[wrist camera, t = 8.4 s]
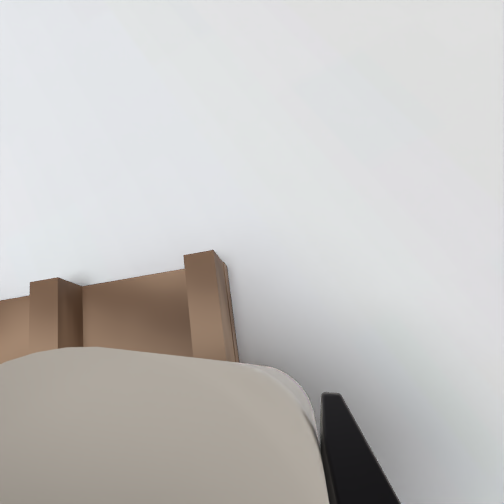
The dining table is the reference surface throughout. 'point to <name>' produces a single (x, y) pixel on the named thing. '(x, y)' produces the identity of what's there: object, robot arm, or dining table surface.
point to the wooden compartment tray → (128, 314)
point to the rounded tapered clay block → (154, 431)
